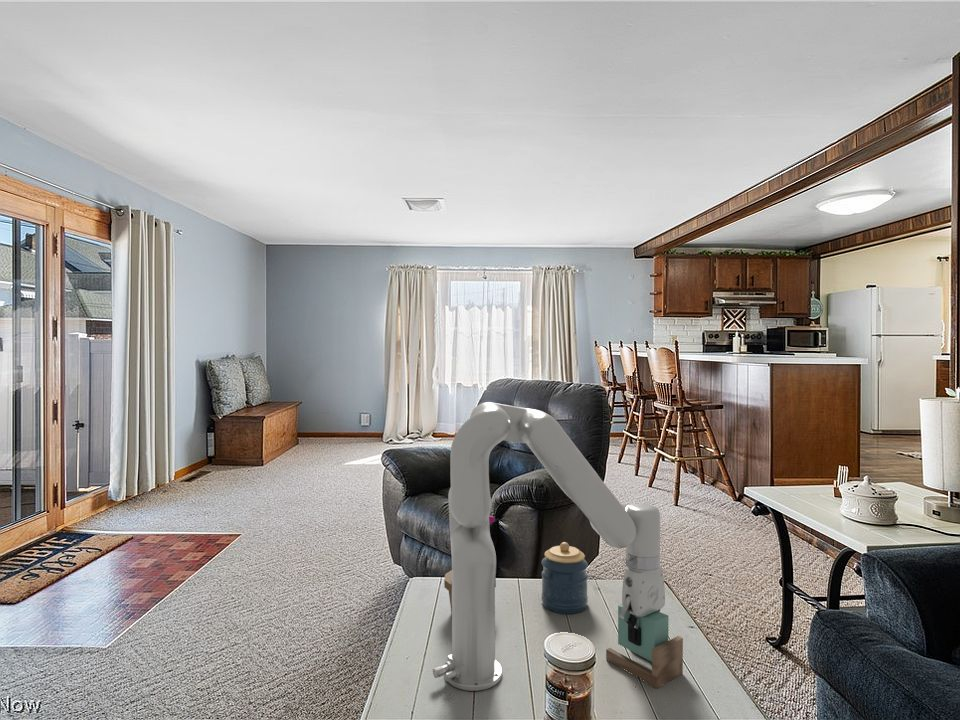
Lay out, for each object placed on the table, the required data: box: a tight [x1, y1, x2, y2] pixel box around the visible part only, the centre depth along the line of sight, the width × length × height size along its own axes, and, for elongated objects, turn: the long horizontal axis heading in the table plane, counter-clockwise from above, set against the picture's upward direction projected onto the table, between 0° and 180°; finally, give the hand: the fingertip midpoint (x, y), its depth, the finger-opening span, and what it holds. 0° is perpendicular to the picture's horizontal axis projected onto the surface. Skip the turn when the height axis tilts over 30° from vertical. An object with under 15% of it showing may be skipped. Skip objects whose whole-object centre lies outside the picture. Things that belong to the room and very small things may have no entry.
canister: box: [541, 541, 589, 615], centre depth 159 cm, size 13×13×18 cm
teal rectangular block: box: [617, 603, 669, 663], centre depth 127 cm, size 5×10×9 cm, turn 36°
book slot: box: [605, 635, 684, 689], centre depth 127 cm, size 9×14×8 cm
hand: (642, 638), depth 127 cm, fingers closed on teal rectangular block, 5 cm apart
